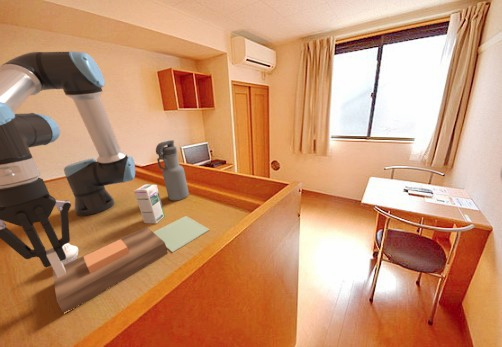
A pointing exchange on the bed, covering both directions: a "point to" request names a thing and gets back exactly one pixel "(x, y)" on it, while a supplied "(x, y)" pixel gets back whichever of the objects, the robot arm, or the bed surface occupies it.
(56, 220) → the bed surface
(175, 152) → the water bottle
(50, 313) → the bed surface
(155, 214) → the syrup box
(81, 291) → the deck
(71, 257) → the white steamed bun
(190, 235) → the mat
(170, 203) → the bed surface
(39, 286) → the bed surface
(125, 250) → the orange rectangular block
